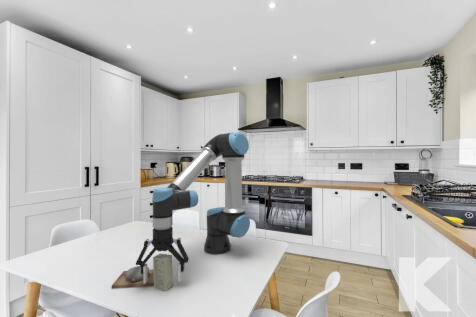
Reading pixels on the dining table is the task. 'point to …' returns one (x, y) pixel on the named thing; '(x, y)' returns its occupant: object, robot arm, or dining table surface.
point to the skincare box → (163, 271)
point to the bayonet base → (134, 278)
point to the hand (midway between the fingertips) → (162, 280)
